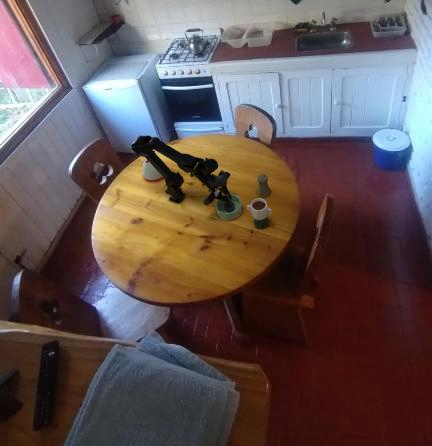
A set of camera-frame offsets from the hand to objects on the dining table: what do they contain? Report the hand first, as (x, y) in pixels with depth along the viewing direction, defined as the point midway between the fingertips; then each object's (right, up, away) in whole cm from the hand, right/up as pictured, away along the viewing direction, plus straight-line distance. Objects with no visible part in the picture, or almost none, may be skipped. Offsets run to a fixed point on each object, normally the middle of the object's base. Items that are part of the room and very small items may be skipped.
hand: (230, 200), depth 160 cm
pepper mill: (+17, +2, +10) cm, 20 cm away
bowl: (0, -5, +5) cm, 7 cm away
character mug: (+14, -10, -4) cm, 17 cm away
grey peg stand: (0, -5, +5) cm, 7 cm away
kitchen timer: (-40, +9, +34) cm, 54 cm away
